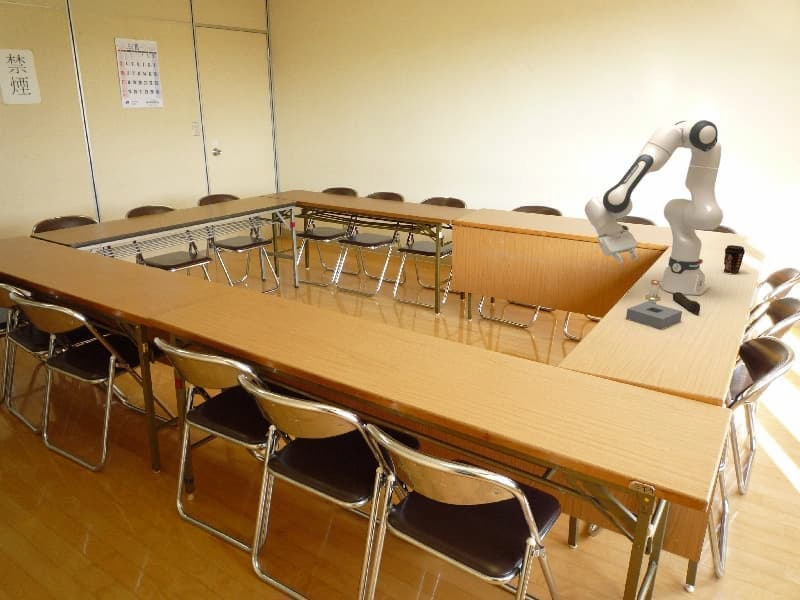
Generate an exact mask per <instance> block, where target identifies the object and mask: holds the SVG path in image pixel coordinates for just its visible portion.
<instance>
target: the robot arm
mask: <svg viewBox="0 0 800 600" xmlns="http://www.w3.org/2000/svg"><path fill="white" fill-rule="evenodd" d="M718 135H719V134H718V128H717V126H716V124H715V123H714V122H712V121H709V120H706V119H703V120H701V119H691V120H681V121H677V122H675V124H674V123H664V124H661V126H660V127H659V128H658V129H656V130H655V132H654V133H653V134H652V135H651V136H650V137H649V138H648V140H647V141H646V143H645V145H644V146H643V147H642V149H641V150H640V152H639V154H638V156H637V157H636V158H635V161H634V163H633V164H632V165H631V166H630V168H629V169H628V170H627V171H626V173H625V174H624V175H623V177H622V178H621V179H620V181H618V183H616V184H615V185H614V186H612V187H610V188H609V189H608V190H607V191H606V192H605V193H604V195H603V196H594V197H592V198H591V199H590V200H589V201H588V202H587V203H586V204H585V206H584V212H585V216H586V217H587V220H588V221H589V222H590V224H591V225H592V226H593V227H594V228H595V231H596V233H597V235H598V236H597V241H598V246H599V247H600V249H601V251H602V253H603V255H604V256H605V257H612V258H614V260H616V261H617V262H618V263H619V264H620V265H621V264H623V263H624V262H625V259H624V258H623V257H621V255H619V254H623V253H629V254H630V259H631V260H632V261H634V260H637V259H638V256H637V254H636V250H635V249H636V248H637V247H639V244H638V242H637V240H636V238H635V236H634V235H633V234H632V232H630V228H629V227H628V226H627V225H624V224H621V223H618V221H617V220H620V219H622V218H624V217H626V216H628V215H629V214H630V213H631V212H632V210H633V201H632V199H631V198H632V197H631V196H632V194H633V191H635V189H636V187H637V186H638V185H639V184H640V182H641V181H642V180H643V178H644V177H645V176H646V175H648V174H649V173H650V174H651V173H655V172H658V171H661V169H662V168H663V167H664V166H665V165H666V164H667V163H668V161H669V160H670V159H671V157H672V156H673V154H674V153H675V151H676V150H677V149H679V148H683V149H688V150H690V152H691V158H690V159H689V165H688V169H687V173H686V178H685V183H684V184H685V187H686V189H687V190H688V191H689V192H690V195H691V199H688V198H687V199H685V198H674V199H671V200H669V201H668V202H667V203H666V204H665V206H664V208H663V216H664V219H665V220H666V221H667V222H668V224H669V226H670V230H671V233H672V234H671V235H672V244H671V245H672V246H671V253H670V256H669V258H668V265H667V267H666V268H664V272H663V274H662V280H661V281H660V284H659V287H661V289H662V290H663V291H666V292H668V293H672V294H674V293H676V292H680V293H682V294H683V295H689V296H690V295H693V296H702V295H703V294H704V293H705V292H706V291H708V289H710V285H708V284H705V281H706V275H705V273H703V271H702V269H700V268H701V265H702V264H703V262H704V260H703V259H702V258H700V256H701V252H702V251H701V250H702V241H701V239H700V238H699V237H698V236H697V234H696V232H695V231H696V230H700V231H709V230H710V231H712V230H715V229H717V228H718V227H719V226H721V223H722V222H723V218H724V213H723V210H722V208H721V207H720V205H718V202H717V198H716V193H715V188H716V187H715V186H716V181H717V176H718V172H719V168H720V164H721V157H722V145H721V143H720V142H719V141H718ZM695 229H696V230H695Z"/></svg>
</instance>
